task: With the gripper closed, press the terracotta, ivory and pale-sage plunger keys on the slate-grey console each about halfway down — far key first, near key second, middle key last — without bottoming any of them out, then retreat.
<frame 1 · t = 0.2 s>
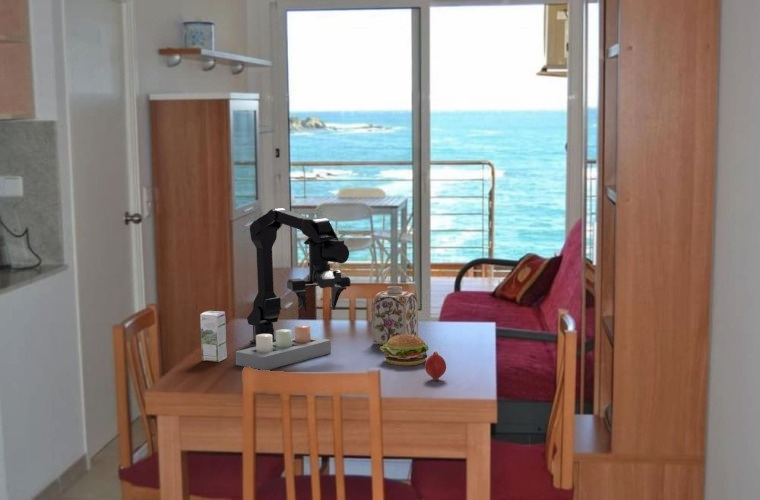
hand: (319, 310, 311), 13 cm above the table, tool pointing down, fingers open, 9 cm apart
terracotta key: (302, 337, 313), point 5 cm above the table, slide at 0.0 cm
ivory key: (264, 346, 301), point 5 cm above the table, slide at 0.0 cm
decorative jar: (395, 342, 328), on the table
sage key: (284, 341, 307), point 5 cm above the table, slide at 0.0 cm
onion: (435, 380, 280), on the table
food: (404, 362, 302), on the table
console: (284, 358, 307), on the table
syrup box: (214, 360, 307), on the table
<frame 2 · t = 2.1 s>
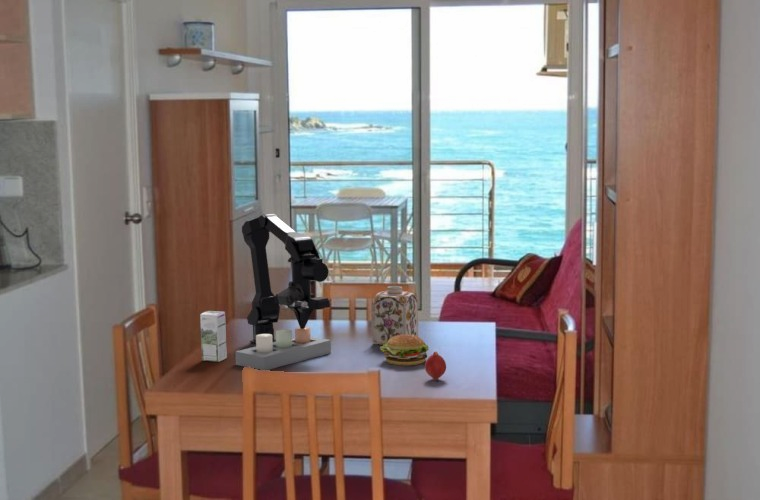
hand: (302, 328, 312), 8 cm above the table, tool pointing down, fingers closed, pressing on terracotta key
terracotta key: (302, 338, 313), point 5 cm above the table, slide at 0.6 cm, touching gripper
everything else where it was.
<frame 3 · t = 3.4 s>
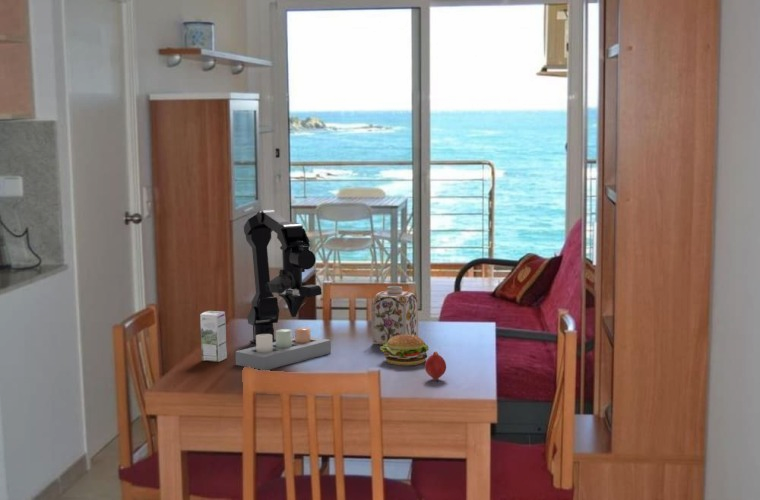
hand: (293, 316, 309), 12 cm above the table, tool pointing down, fingers closed
terracotta key: (302, 339, 313), point 4 cm above the table, slide at 0.8 cm
everything else where it was.
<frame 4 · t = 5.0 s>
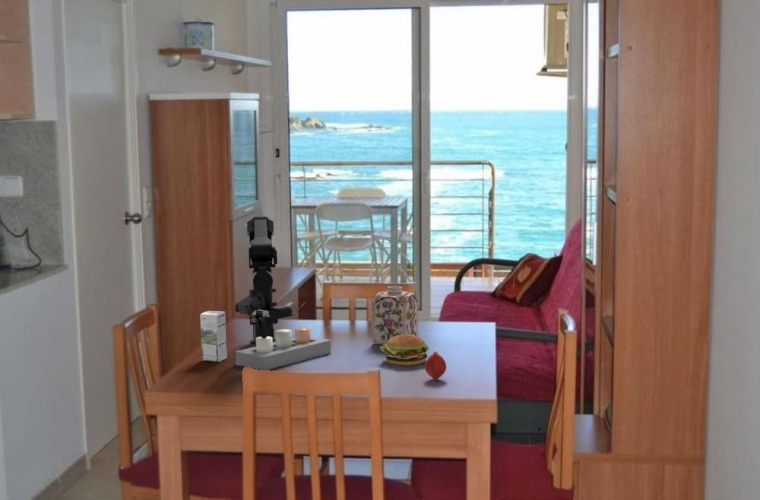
hand: (264, 338, 300), 8 cm above the table, tool pointing down, fingers closed, pressing on ivory key
ivory key: (264, 348, 301), point 4 cm above the table, slide at 0.8 cm, touching gripper
everything else where it was.
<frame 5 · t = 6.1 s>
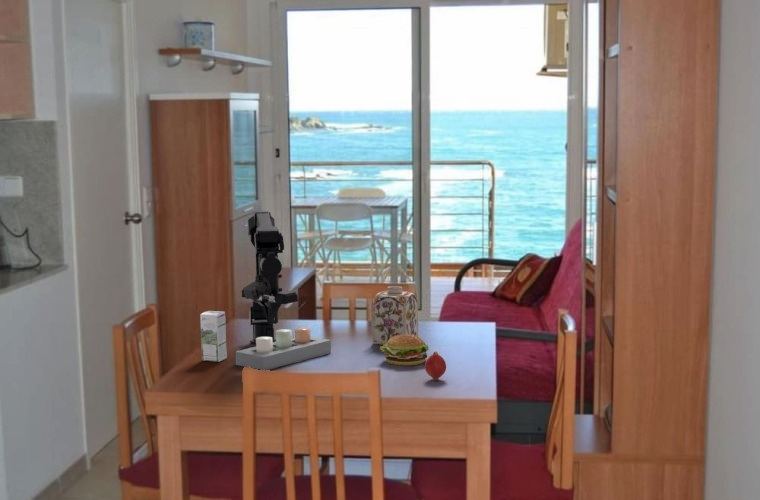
hand: (270, 323, 302), 12 cm above the table, tool pointing down, fingers closed
ivory key: (264, 349, 301), point 4 cm above the table, slide at 0.9 cm
everything else where it was.
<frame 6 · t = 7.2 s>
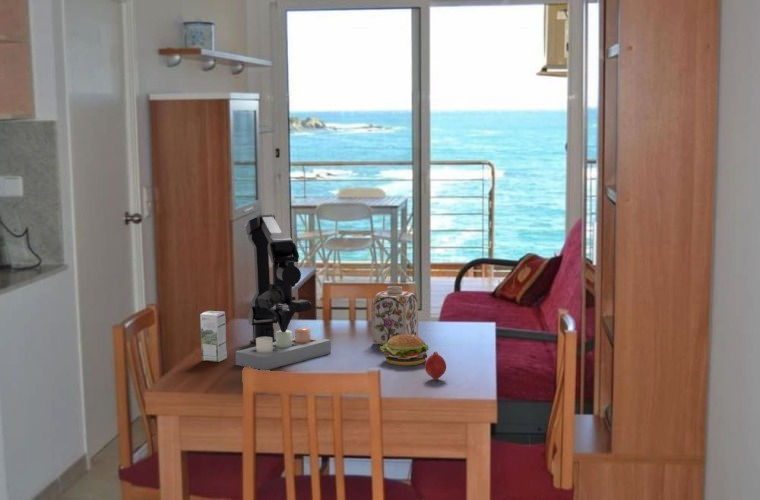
hand: (283, 331, 306), 8 cm above the table, tool pointing down, fingers closed, pressing on sage key
sage key: (284, 342, 307), point 5 cm above the table, slide at 0.2 cm, touching gripper
everything else where it was.
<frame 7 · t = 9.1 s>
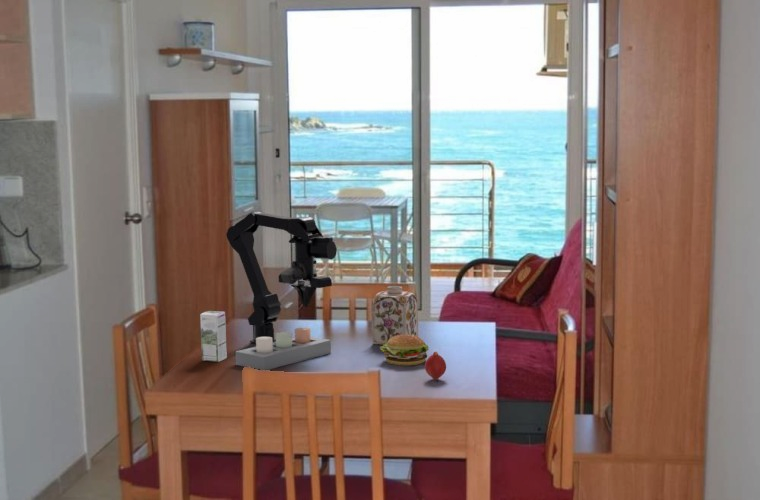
hand: (305, 306, 321), 13 cm above the table, tool pointing down, fingers closed
sage key: (284, 344, 307), point 4 cm above the table, slide at 0.8 cm
everything else where it was.
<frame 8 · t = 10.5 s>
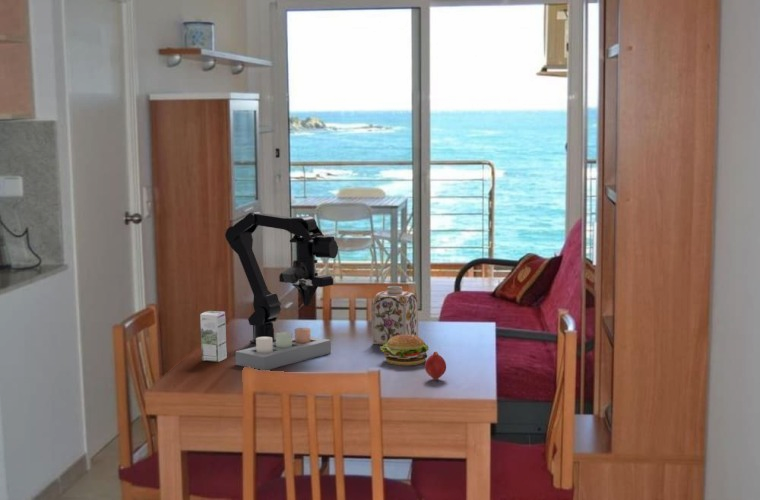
hand: (306, 306, 322), 13 cm above the table, tool pointing down, fingers closed
nothing on the table moved.
at the end: terracotta key slide at 0.8 cm; ivory key slide at 0.9 cm; sage key slide at 0.8 cm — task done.
